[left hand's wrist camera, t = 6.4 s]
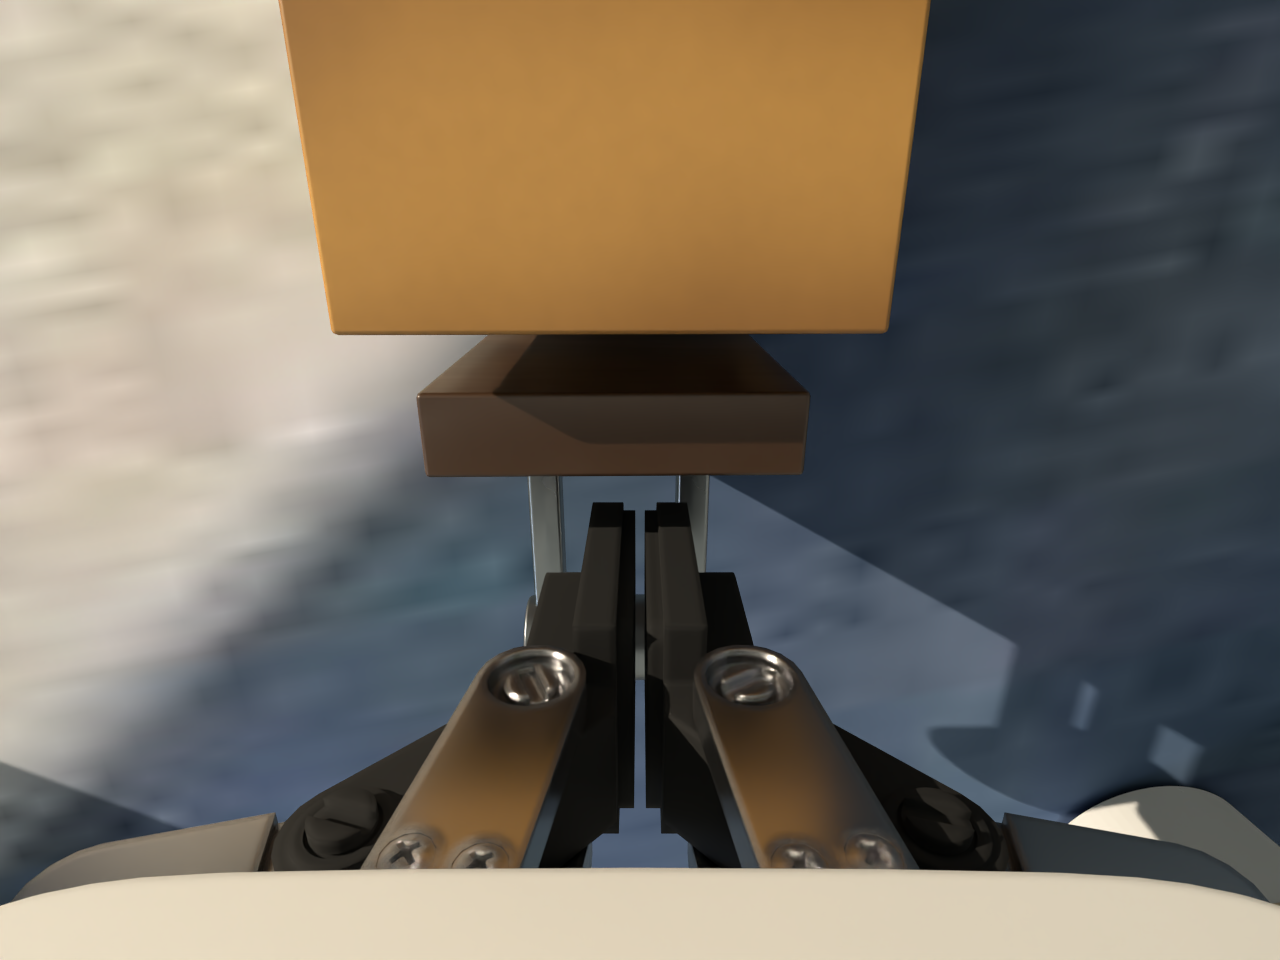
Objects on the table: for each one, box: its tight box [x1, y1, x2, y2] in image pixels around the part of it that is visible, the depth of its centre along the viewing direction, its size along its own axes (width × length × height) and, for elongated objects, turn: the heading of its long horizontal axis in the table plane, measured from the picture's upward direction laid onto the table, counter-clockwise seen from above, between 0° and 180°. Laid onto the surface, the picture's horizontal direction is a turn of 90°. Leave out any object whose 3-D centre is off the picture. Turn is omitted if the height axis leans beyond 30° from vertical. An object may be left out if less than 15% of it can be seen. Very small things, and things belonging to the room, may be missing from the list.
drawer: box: [417, 334, 810, 680], centre depth 10 cm, size 23×5×7 cm, turn 0°
